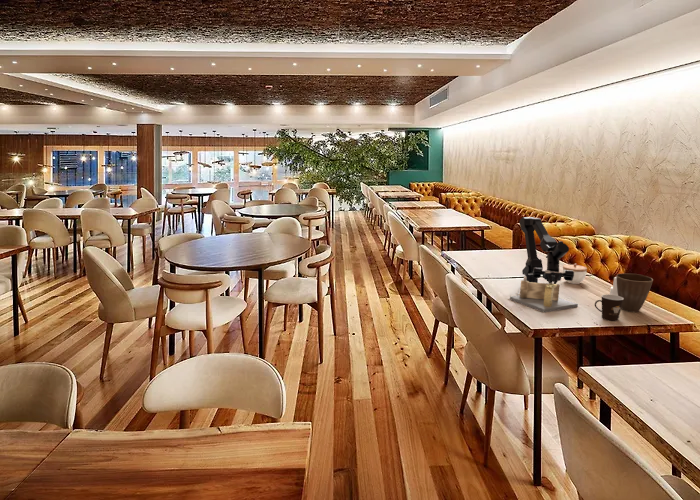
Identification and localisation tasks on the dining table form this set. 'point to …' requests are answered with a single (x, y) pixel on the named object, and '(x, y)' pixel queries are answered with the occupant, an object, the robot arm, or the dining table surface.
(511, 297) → the slate board
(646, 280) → the plant pot
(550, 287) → the brass keeper
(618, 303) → the coffee mug
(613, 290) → the cream cylindrical piece
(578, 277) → the lidded bowl
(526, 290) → the ash link
